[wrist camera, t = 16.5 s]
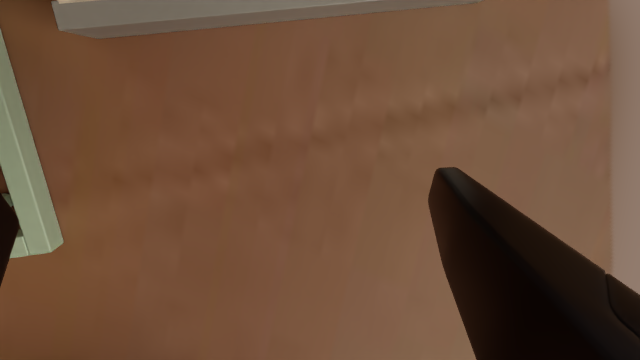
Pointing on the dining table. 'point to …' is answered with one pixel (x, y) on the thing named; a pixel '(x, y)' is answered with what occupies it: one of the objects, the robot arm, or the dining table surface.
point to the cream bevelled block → (208, 13)
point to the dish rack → (24, 171)
